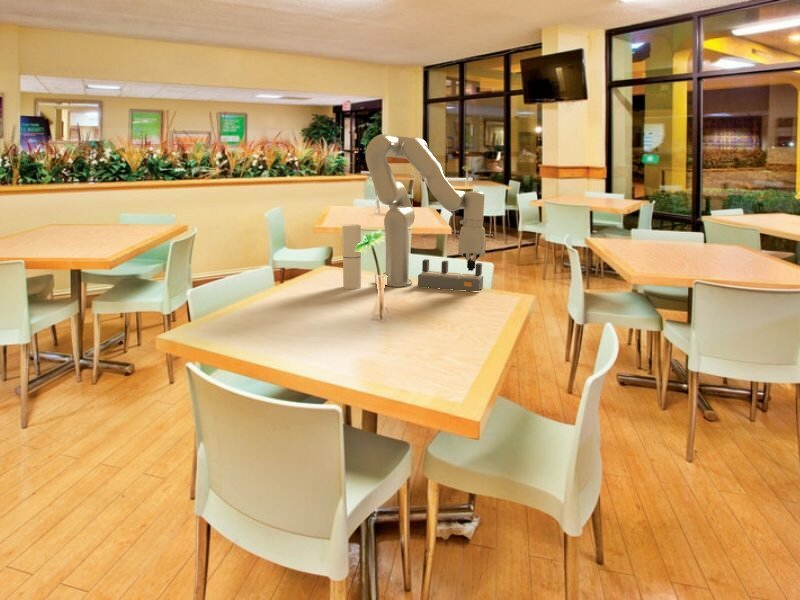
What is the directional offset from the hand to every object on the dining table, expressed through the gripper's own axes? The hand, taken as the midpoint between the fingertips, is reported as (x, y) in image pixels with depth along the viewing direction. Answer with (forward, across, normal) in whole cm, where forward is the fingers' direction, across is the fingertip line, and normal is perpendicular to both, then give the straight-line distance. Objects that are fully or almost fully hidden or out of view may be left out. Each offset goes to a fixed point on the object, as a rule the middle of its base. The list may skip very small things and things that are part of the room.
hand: (470, 270), depth 216 cm
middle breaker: (+2, -11, 0) cm, 11 cm away
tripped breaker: (+2, +3, 0) cm, 3 cm away
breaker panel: (+8, -8, 0) cm, 11 cm away
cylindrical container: (+8, -46, -13) cm, 48 cm away
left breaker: (+2, -19, 0) cm, 19 cm away
